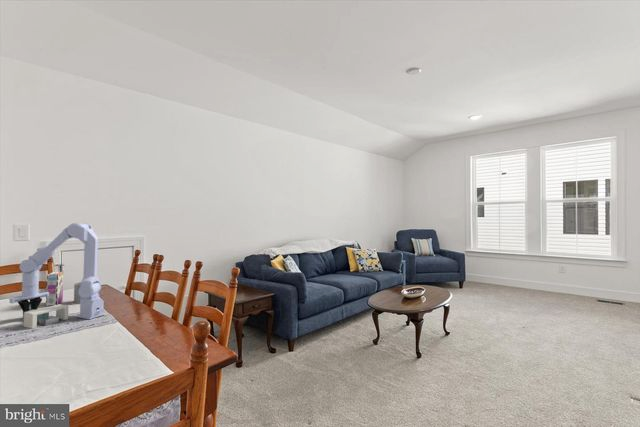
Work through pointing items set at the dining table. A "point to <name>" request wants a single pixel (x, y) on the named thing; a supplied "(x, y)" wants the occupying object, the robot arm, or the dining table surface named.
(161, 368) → the dining table surface
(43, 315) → the slat blade
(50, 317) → the steel token
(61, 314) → the plinth shelf
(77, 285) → the cup
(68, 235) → the robot arm
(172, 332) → the dining table surface
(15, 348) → the dining table surface
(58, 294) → the candy bar box
